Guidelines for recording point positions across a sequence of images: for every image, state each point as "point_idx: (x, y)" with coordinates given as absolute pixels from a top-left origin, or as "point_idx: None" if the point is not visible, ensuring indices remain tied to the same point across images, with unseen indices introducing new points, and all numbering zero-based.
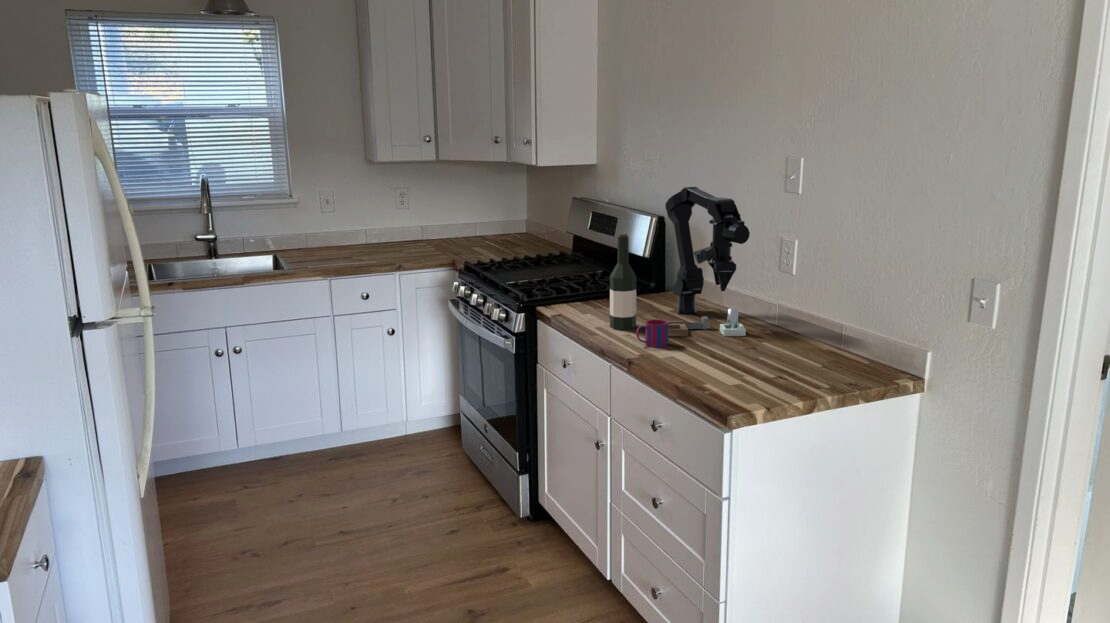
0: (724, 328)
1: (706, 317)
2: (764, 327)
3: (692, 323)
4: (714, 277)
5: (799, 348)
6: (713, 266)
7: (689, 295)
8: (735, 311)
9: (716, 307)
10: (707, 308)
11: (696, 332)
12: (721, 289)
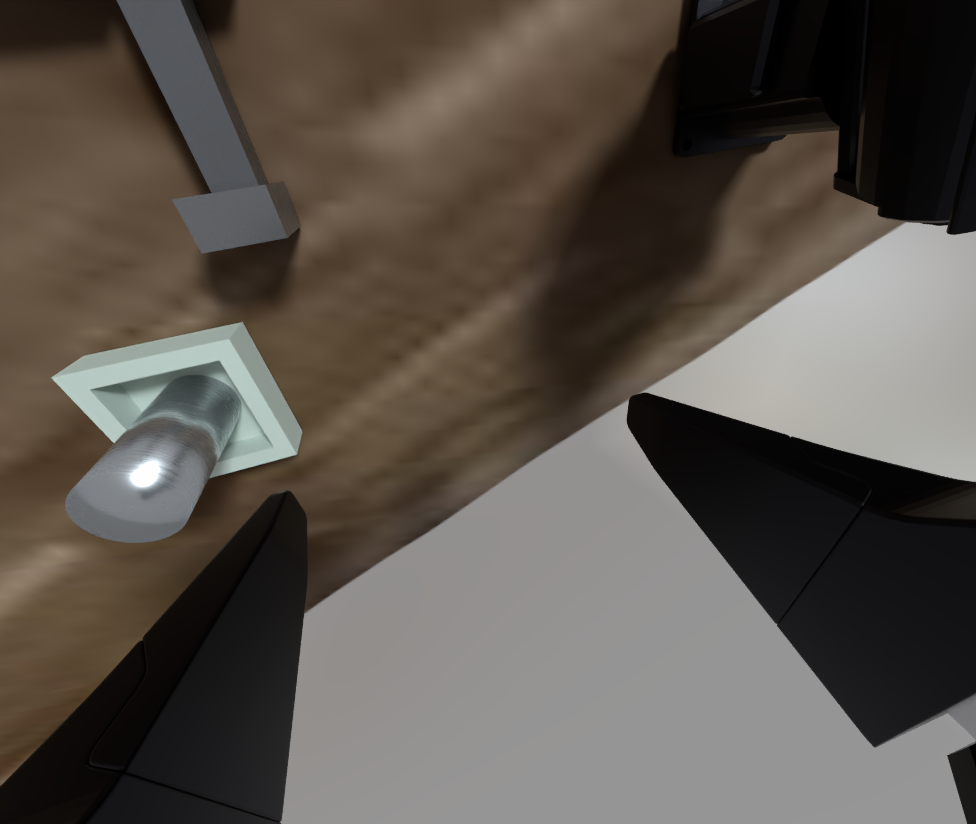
0: (92, 379)
1: (240, 235)
2: (394, 506)
3: (170, 72)
4: (727, 422)
5: (66, 652)
6: (953, 562)
7: (836, 48)
8: (95, 524)
9: (769, 281)
10: (769, 230)
11: (78, 125)
12: (256, 515)
